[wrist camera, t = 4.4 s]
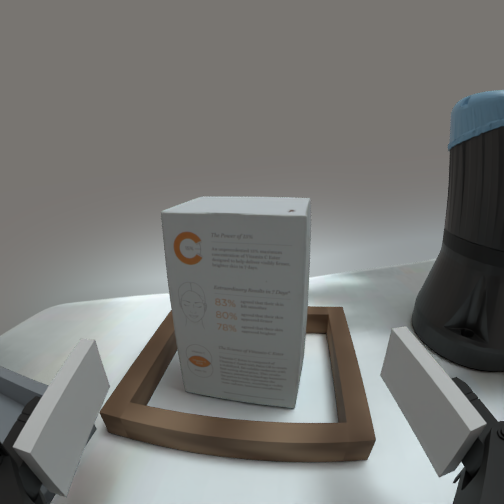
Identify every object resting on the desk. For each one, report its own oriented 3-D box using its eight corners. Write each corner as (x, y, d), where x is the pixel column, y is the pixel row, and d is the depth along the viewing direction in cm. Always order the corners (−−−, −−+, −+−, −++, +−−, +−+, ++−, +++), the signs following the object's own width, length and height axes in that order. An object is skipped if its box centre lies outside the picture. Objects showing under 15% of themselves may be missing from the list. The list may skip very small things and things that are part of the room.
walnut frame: (340, 324, 29) (342, 306, 29) (367, 459, 14) (375, 440, 14) (180, 317, 31) (178, 300, 31) (108, 432, 16) (99, 412, 15)
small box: (304, 357, 25) (313, 196, 21) (295, 411, 19) (309, 213, 15) (210, 346, 27) (200, 194, 23) (182, 392, 21) (157, 210, 17)
